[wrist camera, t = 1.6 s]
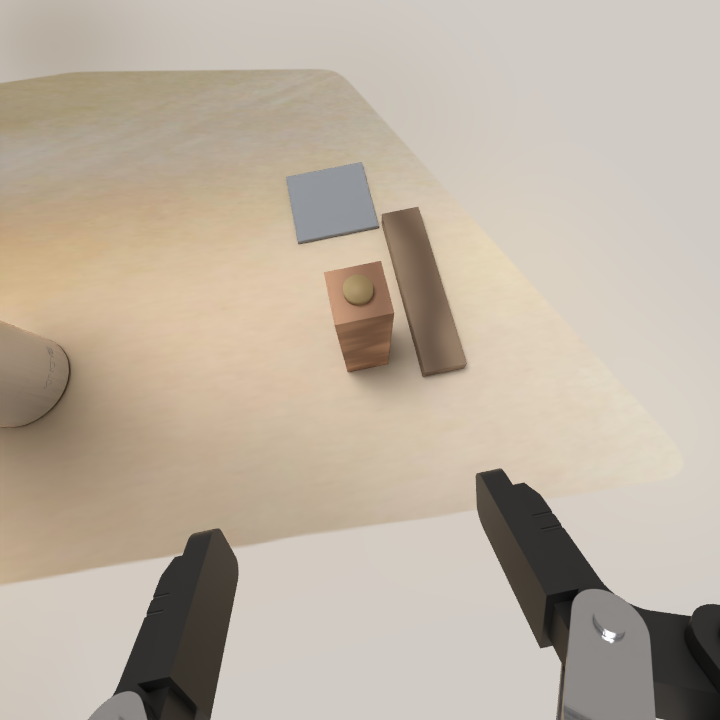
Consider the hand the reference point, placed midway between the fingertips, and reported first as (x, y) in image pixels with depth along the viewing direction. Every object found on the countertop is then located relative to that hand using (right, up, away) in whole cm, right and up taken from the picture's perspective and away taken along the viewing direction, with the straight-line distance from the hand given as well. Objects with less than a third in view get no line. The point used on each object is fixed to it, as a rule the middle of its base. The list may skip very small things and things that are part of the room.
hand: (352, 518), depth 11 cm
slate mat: (-3, +23, +30) cm, 38 cm away
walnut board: (+6, +12, +26) cm, 29 cm away
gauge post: (+1, +6, +24) cm, 25 cm away
